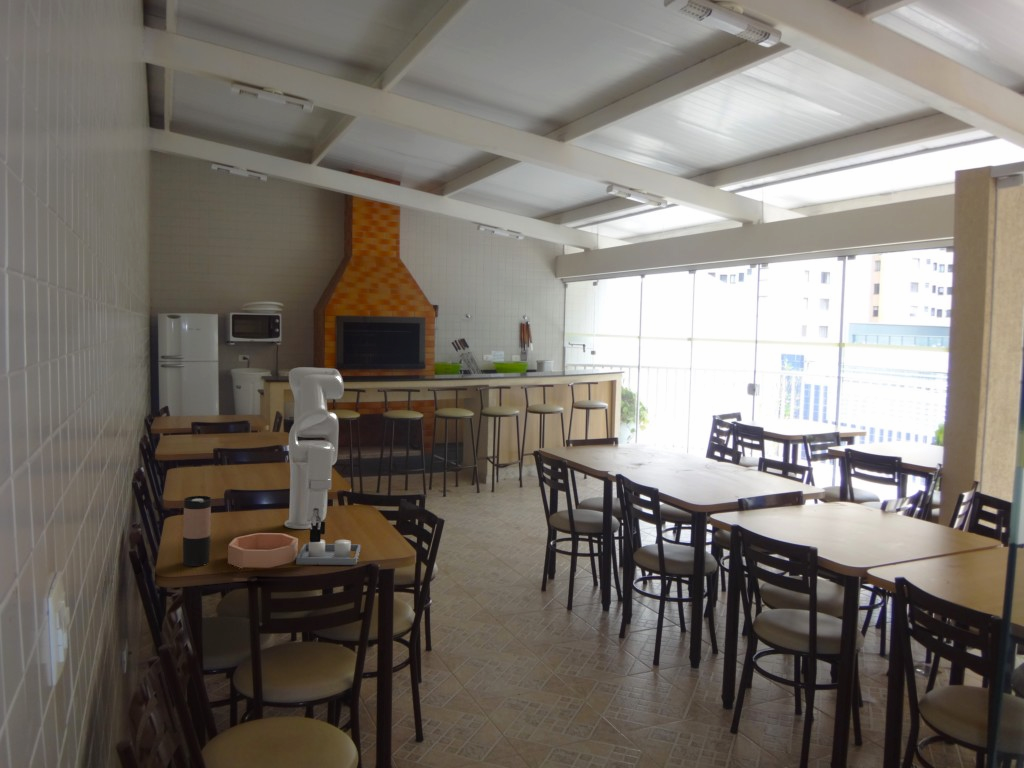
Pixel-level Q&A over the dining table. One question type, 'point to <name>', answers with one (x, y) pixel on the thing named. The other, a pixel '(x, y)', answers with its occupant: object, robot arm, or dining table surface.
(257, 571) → the dining table surface
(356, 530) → the dining table surface
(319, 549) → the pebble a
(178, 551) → the dining table surface
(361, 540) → the dining table surface
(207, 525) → the travel mug
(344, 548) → the pebble
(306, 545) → the parts tray
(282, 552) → the bowl
